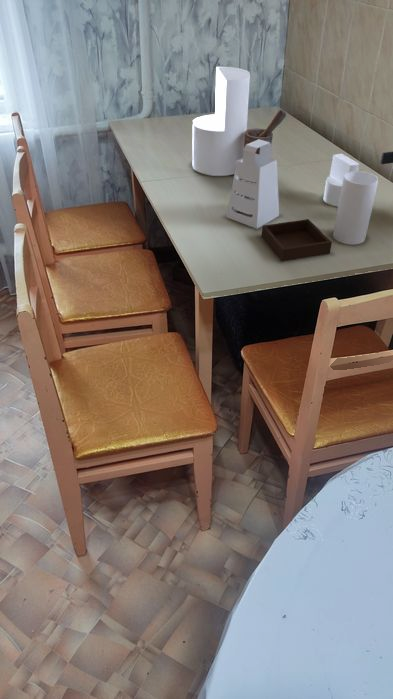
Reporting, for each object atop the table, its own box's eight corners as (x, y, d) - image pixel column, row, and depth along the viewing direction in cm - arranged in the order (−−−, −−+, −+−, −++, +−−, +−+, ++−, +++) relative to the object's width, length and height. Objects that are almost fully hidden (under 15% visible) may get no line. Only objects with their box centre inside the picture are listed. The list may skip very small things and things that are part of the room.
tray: (306, 230, 145) (308, 218, 142) (329, 253, 135) (332, 242, 133) (261, 236, 142) (262, 225, 140) (281, 261, 132) (282, 249, 130)
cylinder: (238, 155, 187) (243, 65, 169) (249, 174, 174) (255, 79, 156) (189, 157, 185) (188, 67, 167) (195, 177, 172) (196, 81, 154)
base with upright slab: (360, 203, 158) (369, 162, 150) (334, 208, 155) (341, 167, 147) (342, 191, 164) (350, 152, 156) (317, 196, 161) (323, 156, 154)
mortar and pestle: (272, 167, 179) (278, 103, 166) (282, 177, 172) (289, 111, 159) (238, 170, 176) (242, 106, 163) (247, 181, 170) (252, 114, 157)
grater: (226, 217, 150) (229, 144, 138) (248, 204, 157) (253, 134, 144) (256, 228, 145) (263, 154, 132) (279, 215, 151) (286, 143, 139)
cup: (329, 230, 145) (339, 171, 134) (358, 228, 145) (371, 170, 135) (338, 245, 138) (350, 185, 128) (369, 243, 139) (383, 183, 129)
